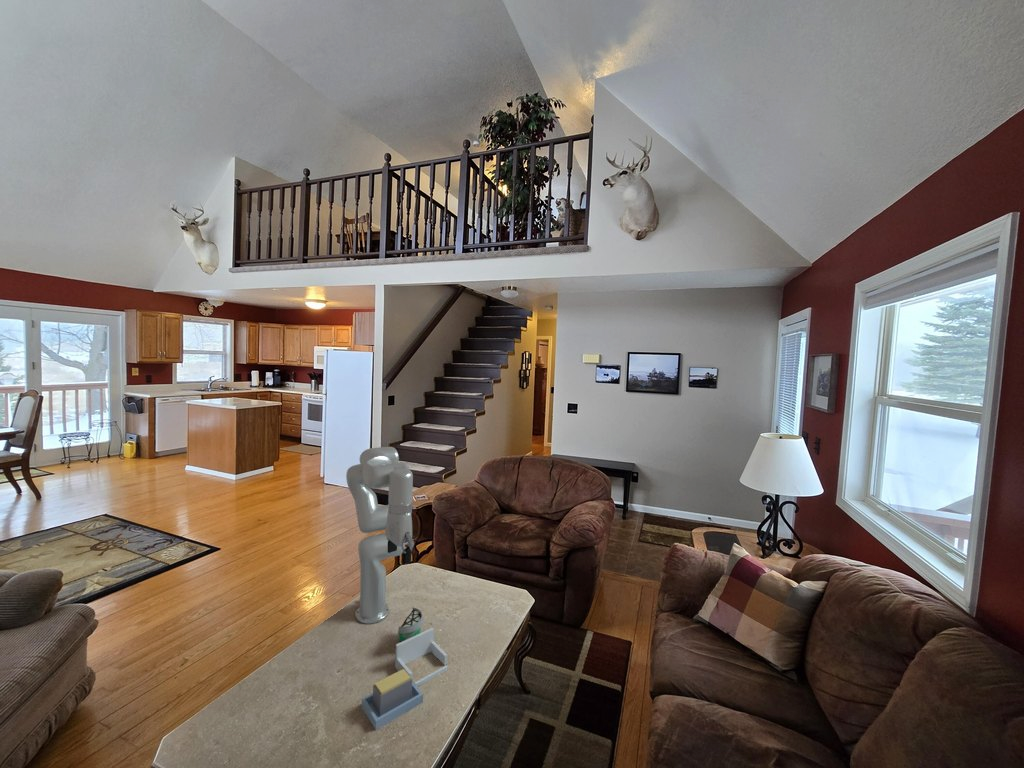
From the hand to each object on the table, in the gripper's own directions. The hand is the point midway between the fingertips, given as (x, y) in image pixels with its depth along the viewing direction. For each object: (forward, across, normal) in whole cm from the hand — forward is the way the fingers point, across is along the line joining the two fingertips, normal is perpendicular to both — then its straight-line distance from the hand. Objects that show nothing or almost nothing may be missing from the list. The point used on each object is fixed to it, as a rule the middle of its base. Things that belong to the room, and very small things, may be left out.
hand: (399, 557), depth 144 cm
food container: (+36, -3, +8) cm, 37 cm away
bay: (+36, +9, +5) cm, 38 cm away
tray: (+36, +16, -10) cm, 41 cm away
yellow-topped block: (+36, +16, -9) cm, 40 cm away
